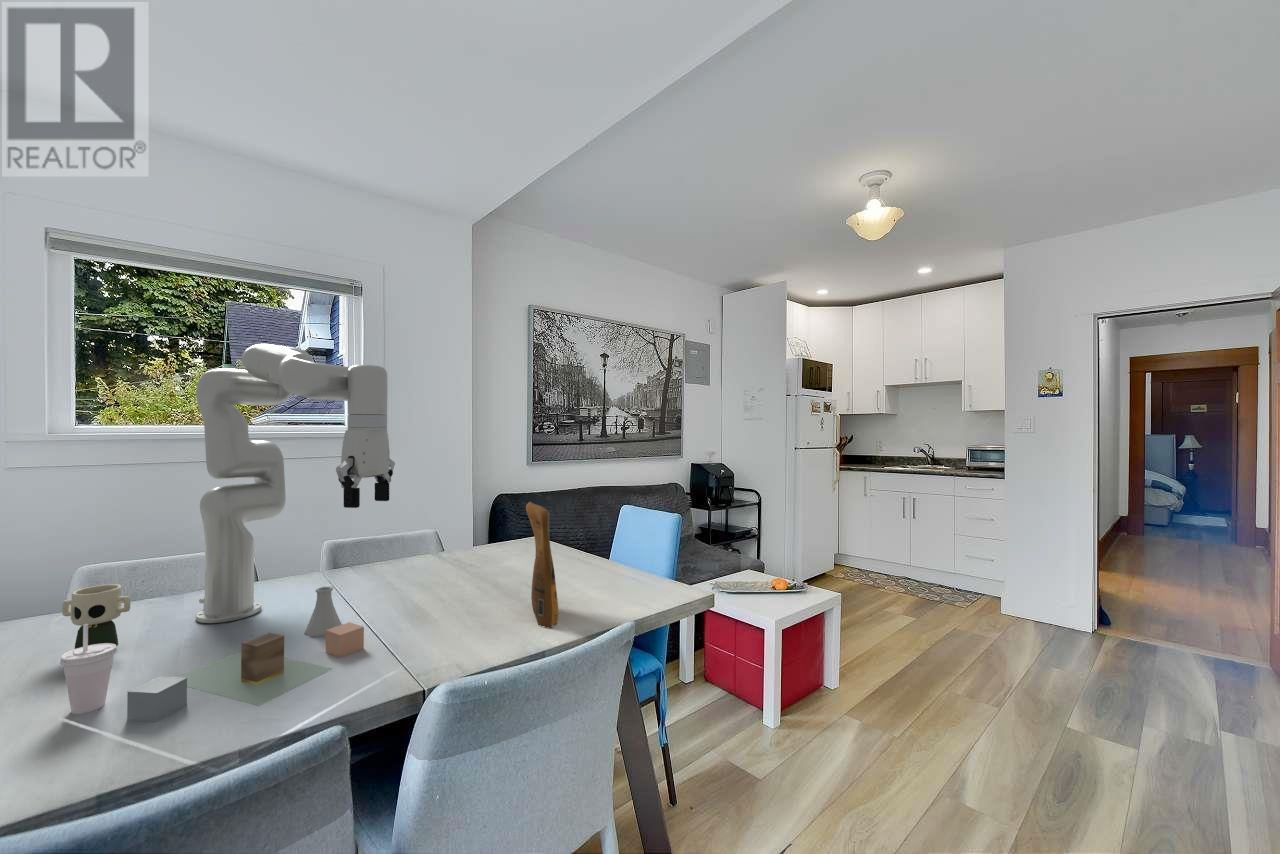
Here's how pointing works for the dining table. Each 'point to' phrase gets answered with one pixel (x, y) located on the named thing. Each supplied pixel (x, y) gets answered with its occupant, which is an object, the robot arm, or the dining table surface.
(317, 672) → the rubber mat
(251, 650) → the walnut block
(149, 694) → the slate block
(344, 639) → the terracotta block
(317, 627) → the flask
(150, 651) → the dining table surface
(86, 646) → the smoothie
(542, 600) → the pancake mix bag
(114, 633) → the character mug
